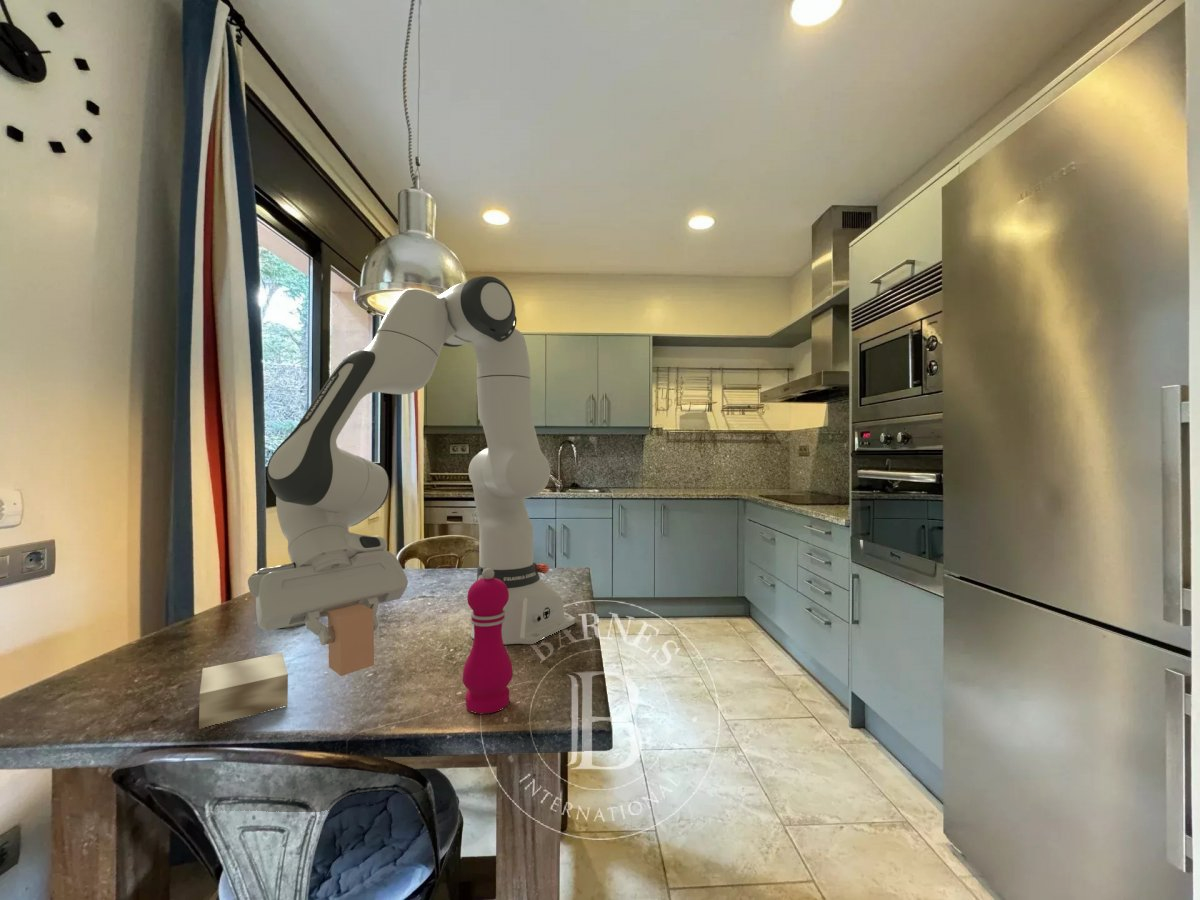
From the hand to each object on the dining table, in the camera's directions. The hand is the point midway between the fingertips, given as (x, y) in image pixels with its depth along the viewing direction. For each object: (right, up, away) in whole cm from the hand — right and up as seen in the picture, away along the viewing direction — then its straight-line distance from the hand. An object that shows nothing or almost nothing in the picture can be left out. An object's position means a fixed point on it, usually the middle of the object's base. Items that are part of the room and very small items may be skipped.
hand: (351, 635), depth 70 cm
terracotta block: (0, -4, 0) cm, 4 cm away
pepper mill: (+19, -11, +2) cm, 22 cm away
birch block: (-17, -11, +2) cm, 21 cm away
